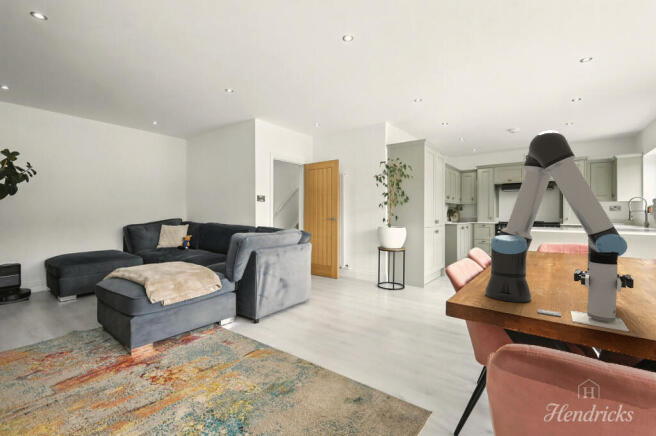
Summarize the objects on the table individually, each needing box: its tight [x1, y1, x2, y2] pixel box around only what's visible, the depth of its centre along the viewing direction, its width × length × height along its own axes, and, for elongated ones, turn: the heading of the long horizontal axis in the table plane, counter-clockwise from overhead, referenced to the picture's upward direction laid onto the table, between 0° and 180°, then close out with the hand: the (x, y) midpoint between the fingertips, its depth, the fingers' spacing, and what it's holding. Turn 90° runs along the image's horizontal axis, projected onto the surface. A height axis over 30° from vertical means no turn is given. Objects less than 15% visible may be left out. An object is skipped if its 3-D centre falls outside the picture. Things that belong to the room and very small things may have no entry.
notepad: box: [570, 310, 630, 332], centre depth 91 cm, size 12×12×1 cm
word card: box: [537, 308, 562, 318], centre depth 97 cm, size 6×4×1 cm, turn 53°
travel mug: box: [586, 252, 619, 322], centre depth 90 cm, size 6×7×20 cm
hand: (602, 284), depth 87 cm, fingers closed on travel mug, 6 cm apart
